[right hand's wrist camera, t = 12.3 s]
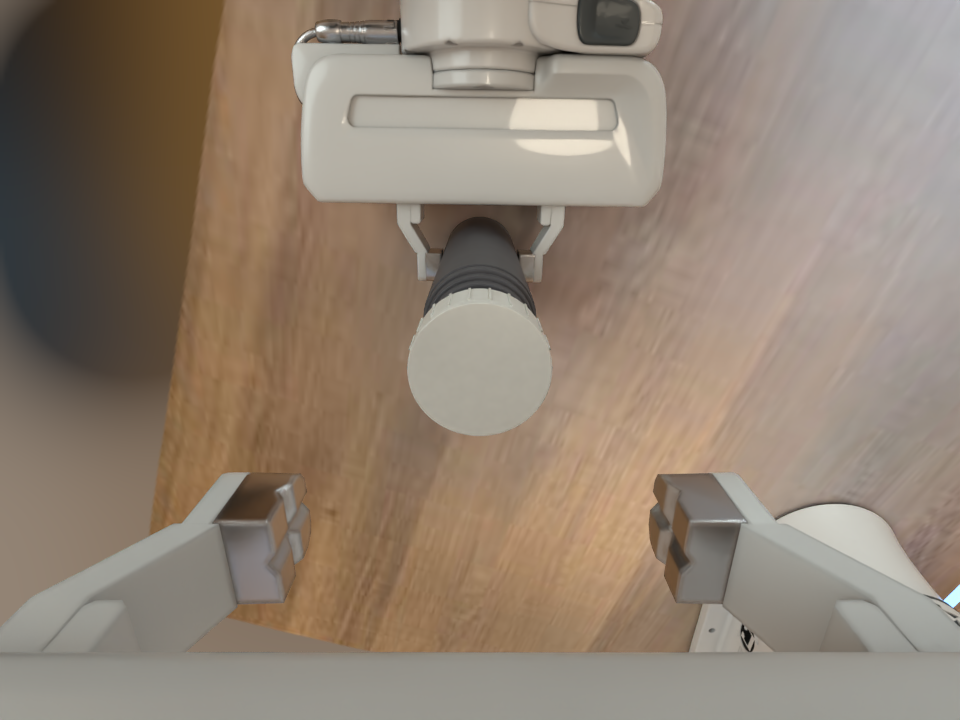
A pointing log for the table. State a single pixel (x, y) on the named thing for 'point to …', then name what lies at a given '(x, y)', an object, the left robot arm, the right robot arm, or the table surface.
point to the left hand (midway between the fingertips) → (480, 280)
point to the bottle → (480, 263)
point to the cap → (479, 362)
